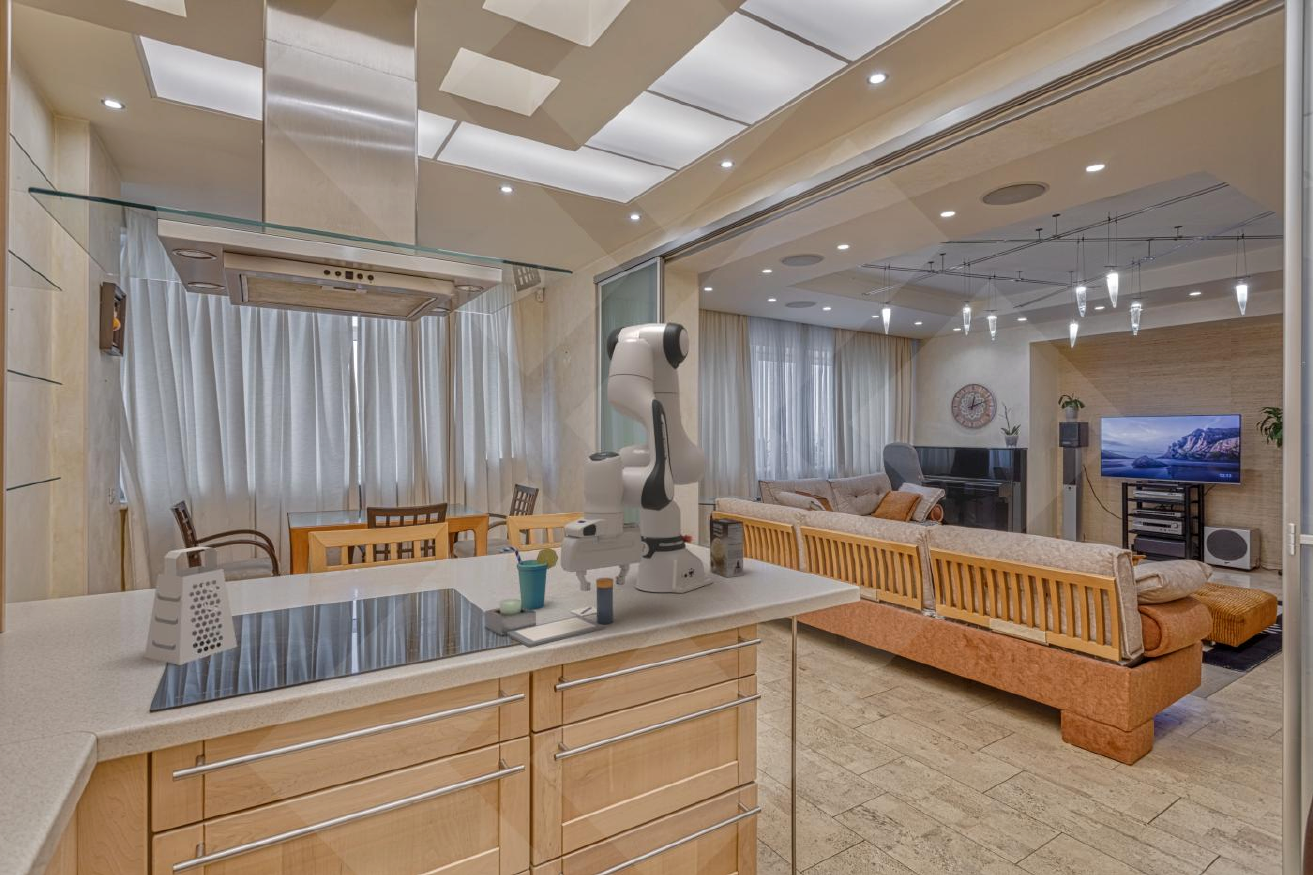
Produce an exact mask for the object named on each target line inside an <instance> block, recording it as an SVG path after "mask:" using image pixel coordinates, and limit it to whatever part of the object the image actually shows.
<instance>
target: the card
mask: <svg viewBox="0 0 1313 875" xmlns="http://www.w3.org/2000/svg"><path fill="white" fill-rule="evenodd" d="M569 613H571V614H574V615H576V616H581V617H587V616H591V615H592V616H593V615H597V607H594V606H592V605H591V606H586V607H581V608H577V609H572V610H570V611H569Z"/></svg>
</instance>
